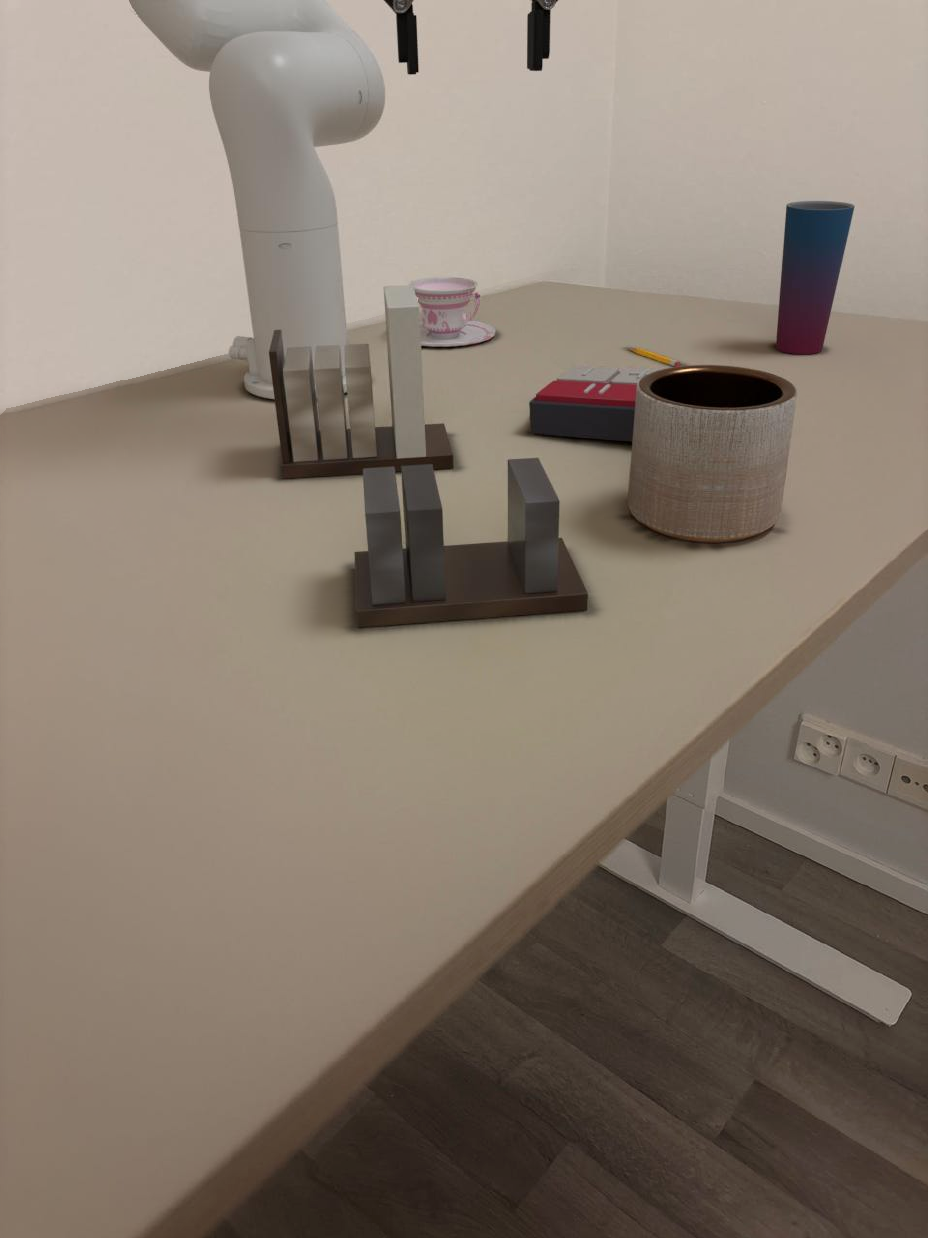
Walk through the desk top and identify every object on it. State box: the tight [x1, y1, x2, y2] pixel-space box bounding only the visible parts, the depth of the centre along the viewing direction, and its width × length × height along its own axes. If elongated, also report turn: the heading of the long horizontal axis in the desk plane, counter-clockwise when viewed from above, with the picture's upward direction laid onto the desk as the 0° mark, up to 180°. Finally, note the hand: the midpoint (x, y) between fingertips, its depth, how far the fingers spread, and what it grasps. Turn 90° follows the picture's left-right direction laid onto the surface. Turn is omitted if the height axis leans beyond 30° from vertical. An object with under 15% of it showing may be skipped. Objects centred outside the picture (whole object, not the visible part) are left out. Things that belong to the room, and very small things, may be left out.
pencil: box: [628, 347, 682, 367], centre depth 107 cm, size 1×8×1 cm, turn 30°
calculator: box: [528, 364, 663, 443], centre depth 87 cm, size 11×4×15 cm
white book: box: [383, 284, 426, 459], centre depth 79 cm, size 2×8×12 cm, turn 6°
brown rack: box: [269, 330, 454, 480], centre depth 80 cm, size 14×8×10 cm, turn 96°
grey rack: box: [353, 457, 589, 628], centre depth 60 cm, size 14×8×7 cm, turn 96°
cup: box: [775, 200, 855, 355], centre depth 105 cm, size 7×7×15 cm
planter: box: [627, 364, 798, 544], centre depth 68 cm, size 11×11×10 cm
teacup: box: [408, 276, 496, 348], centre depth 116 cm, size 12×12×6 cm
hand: (474, 72), depth 76 cm, fingers open, 9 cm apart
